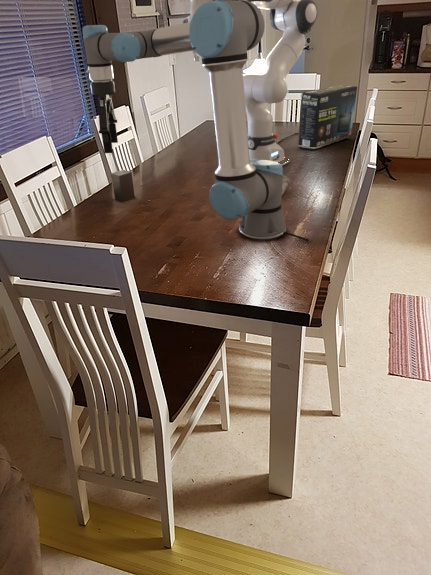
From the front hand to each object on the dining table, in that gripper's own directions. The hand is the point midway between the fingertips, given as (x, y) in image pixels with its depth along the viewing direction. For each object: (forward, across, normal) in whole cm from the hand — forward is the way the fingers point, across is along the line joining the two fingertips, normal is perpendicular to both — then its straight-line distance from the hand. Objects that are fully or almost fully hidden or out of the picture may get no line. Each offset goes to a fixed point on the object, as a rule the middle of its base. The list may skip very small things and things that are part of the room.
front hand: (111, 147), depth 158 cm
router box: (+23, -83, +99) cm, 131 cm away
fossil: (+23, -13, +57) cm, 62 cm away
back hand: (-22, -35, +34) cm, 54 cm away
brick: (+24, -14, 0) cm, 27 cm away
